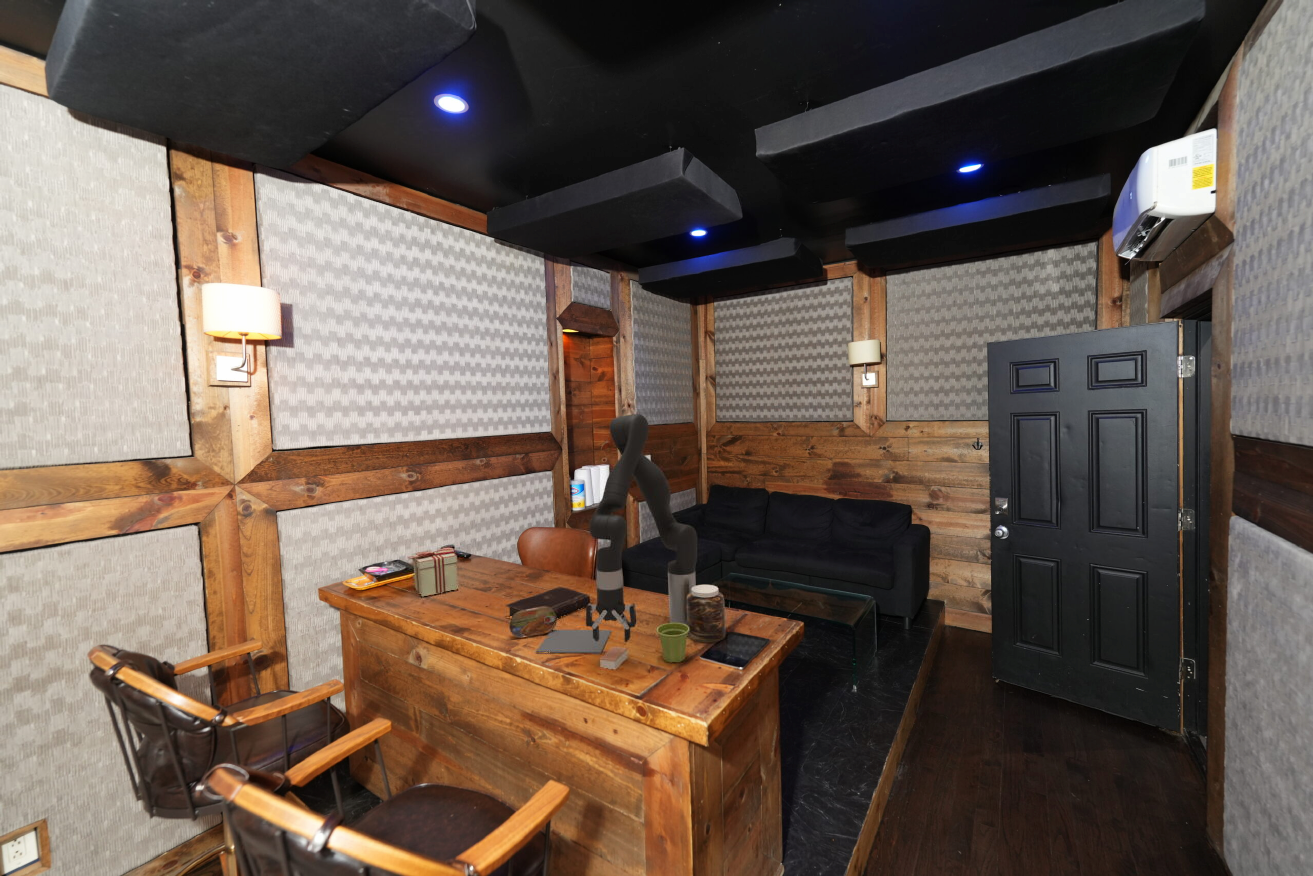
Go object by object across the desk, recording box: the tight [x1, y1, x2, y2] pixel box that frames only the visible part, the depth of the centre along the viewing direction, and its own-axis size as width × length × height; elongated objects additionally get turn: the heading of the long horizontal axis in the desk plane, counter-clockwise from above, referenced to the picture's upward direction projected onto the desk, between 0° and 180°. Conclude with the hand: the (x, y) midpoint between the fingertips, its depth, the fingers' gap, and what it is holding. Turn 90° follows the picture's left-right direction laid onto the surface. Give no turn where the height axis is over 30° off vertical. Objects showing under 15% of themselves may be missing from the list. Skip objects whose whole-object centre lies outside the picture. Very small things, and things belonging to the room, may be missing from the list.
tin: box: [508, 606, 558, 639], centre depth 173 cm, size 15×3×8 cm, turn 106°
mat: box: [535, 629, 612, 655], centre depth 166 cm, size 20×16×1 cm
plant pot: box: [656, 622, 689, 664], centre depth 152 cm, size 9×9×9 cm
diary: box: [505, 586, 591, 619], centre depth 194 cm, size 19×25×5 cm
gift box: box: [407, 546, 459, 596], centre depth 224 cm, size 17×18×17 cm
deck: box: [599, 646, 628, 671], centre depth 152 cm, size 4×8×3 cm, turn 157°
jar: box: [687, 584, 727, 644], centre depth 167 cm, size 12×12×15 cm
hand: (611, 640), depth 151 cm, fingers open, 8 cm apart
